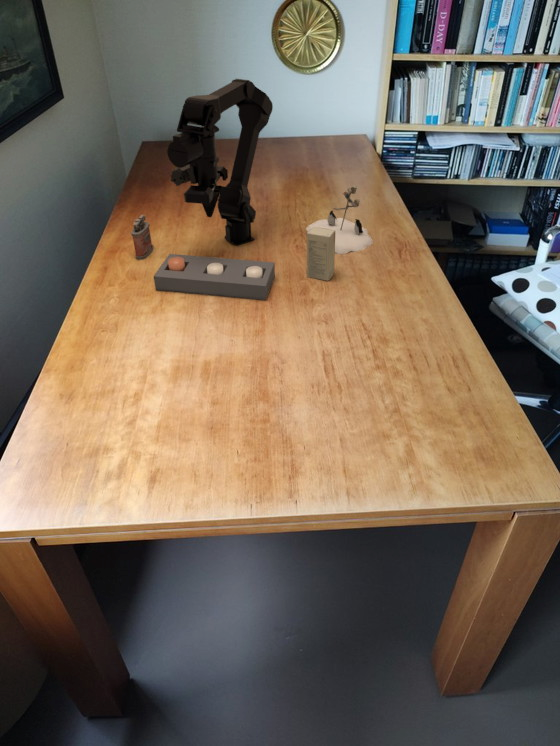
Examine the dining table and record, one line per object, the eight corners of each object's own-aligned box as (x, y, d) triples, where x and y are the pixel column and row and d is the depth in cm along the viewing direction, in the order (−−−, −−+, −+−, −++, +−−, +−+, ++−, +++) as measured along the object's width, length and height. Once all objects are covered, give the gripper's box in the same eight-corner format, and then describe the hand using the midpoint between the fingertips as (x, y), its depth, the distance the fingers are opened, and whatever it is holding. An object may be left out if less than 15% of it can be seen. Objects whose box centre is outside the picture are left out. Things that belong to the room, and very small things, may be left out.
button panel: (274, 276, 142) (274, 262, 140) (265, 300, 133) (265, 286, 131) (171, 267, 146) (169, 253, 144) (155, 290, 137) (153, 276, 135)
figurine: (292, 232, 160) (297, 178, 149) (336, 216, 170) (344, 164, 159) (340, 263, 150) (350, 208, 139) (384, 245, 159) (397, 191, 148)
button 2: (264, 280, 139) (263, 266, 137) (260, 288, 136) (260, 274, 134) (248, 279, 140) (248, 265, 137) (245, 287, 137) (244, 273, 134)
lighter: (144, 260, 149) (138, 225, 143) (133, 259, 150) (126, 224, 144) (155, 247, 155) (150, 213, 149) (144, 246, 156) (138, 212, 150)
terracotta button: (187, 271, 141) (186, 257, 139) (183, 279, 138) (181, 264, 136) (173, 270, 142) (171, 256, 139) (167, 277, 139) (165, 263, 136)
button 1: (225, 277, 141) (224, 263, 138) (221, 285, 137) (220, 271, 135) (210, 276, 141) (209, 262, 139) (206, 284, 138) (204, 269, 135)
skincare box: (334, 274, 143) (337, 230, 135) (328, 281, 140) (331, 237, 132) (311, 269, 145) (313, 225, 138) (305, 276, 142) (306, 232, 134)
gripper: (184, 141, 141) (190, 200, 151) (159, 166, 126) (168, 229, 136) (226, 143, 139) (230, 203, 149) (206, 168, 125) (211, 233, 135)
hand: (209, 216), depth 142 cm, fingers closed
